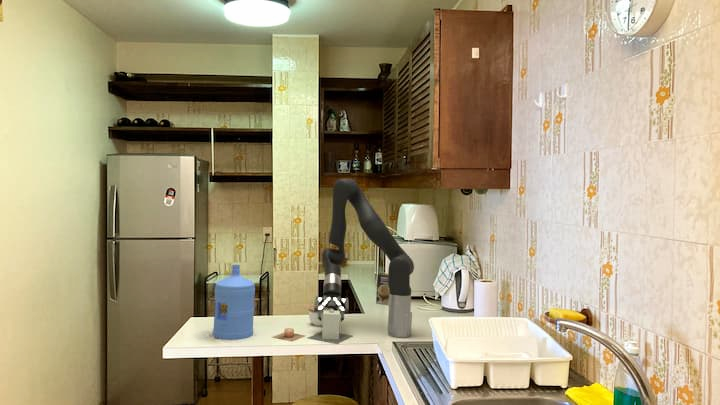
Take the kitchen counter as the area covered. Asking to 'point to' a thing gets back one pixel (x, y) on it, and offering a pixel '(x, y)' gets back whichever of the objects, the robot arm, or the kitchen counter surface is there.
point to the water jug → (234, 306)
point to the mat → (341, 338)
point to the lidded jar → (316, 316)
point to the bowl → (288, 332)
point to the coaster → (283, 337)
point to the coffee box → (382, 289)
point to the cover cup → (331, 324)
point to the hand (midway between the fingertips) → (330, 320)
